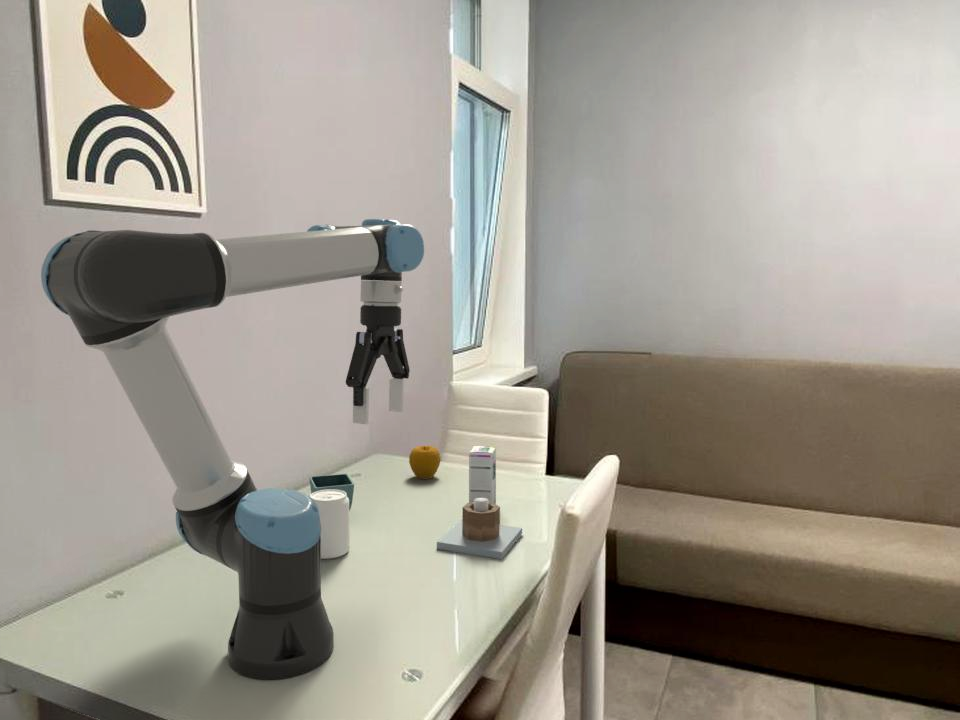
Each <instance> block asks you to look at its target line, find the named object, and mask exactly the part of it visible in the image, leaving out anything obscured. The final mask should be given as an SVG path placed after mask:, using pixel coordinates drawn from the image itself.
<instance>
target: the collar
mask: <svg viewBox="0 0 960 720" xmlns="http://www.w3.org/2000/svg"><path fill="white" fill-rule="evenodd" d="M500 512H501V507H500V506H499V505H498V504H497V503H496V504H495V503H492V502H488V510H487V511H476V510H474V502H469V501H468V502H467V503H465V505H464V504H463V506H462V519H461V520H462V535H463V536H464V537H466V538H467V539H468V540H474V541H480V542H483V541H489V540H495V539H496V538H497V537H498V535H499V528H500V525H501V523H500V520H501V519H500V517H501V516H500V515H501V513H500Z"/></svg>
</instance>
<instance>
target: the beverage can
mask: <svg viewBox="0 0 960 720" xmlns="http://www.w3.org/2000/svg"><path fill="white" fill-rule="evenodd" d="M309 497H311V498H312V499H313V500H314V501H315V503H316V504H317V506H318V509H319V516H320V522H321V560H322V559H323V560H328V559H329V560H331V559H332V560H333V559H337V558H340V557H342V556H343V555H345V554H347V553H348V552H350V548H351V546H350V539H351V538H350V511H349V499H348V497H347V494H346V492H344V491H342V490H336V489H326V490H320V491H316V492H313V493H312V494H311V493H310V495H309Z"/></svg>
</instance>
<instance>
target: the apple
mask: <svg viewBox="0 0 960 720" xmlns="http://www.w3.org/2000/svg"><path fill="white" fill-rule="evenodd" d="M408 463H409V466H410V469H411V471H412V473H413V474H414V476H416V478H418V479H420V478H421V480H428V478H429V479H432V478H433V477H434V476H435V475H436V473H437V472H438V469H439V466H440V464H441V456H440V451H439V450H438V448H436V446H433V445H419V446H416V447H414V448H412V450H411V451H410V453H409V457H408ZM431 477H432V478H431Z"/></svg>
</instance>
